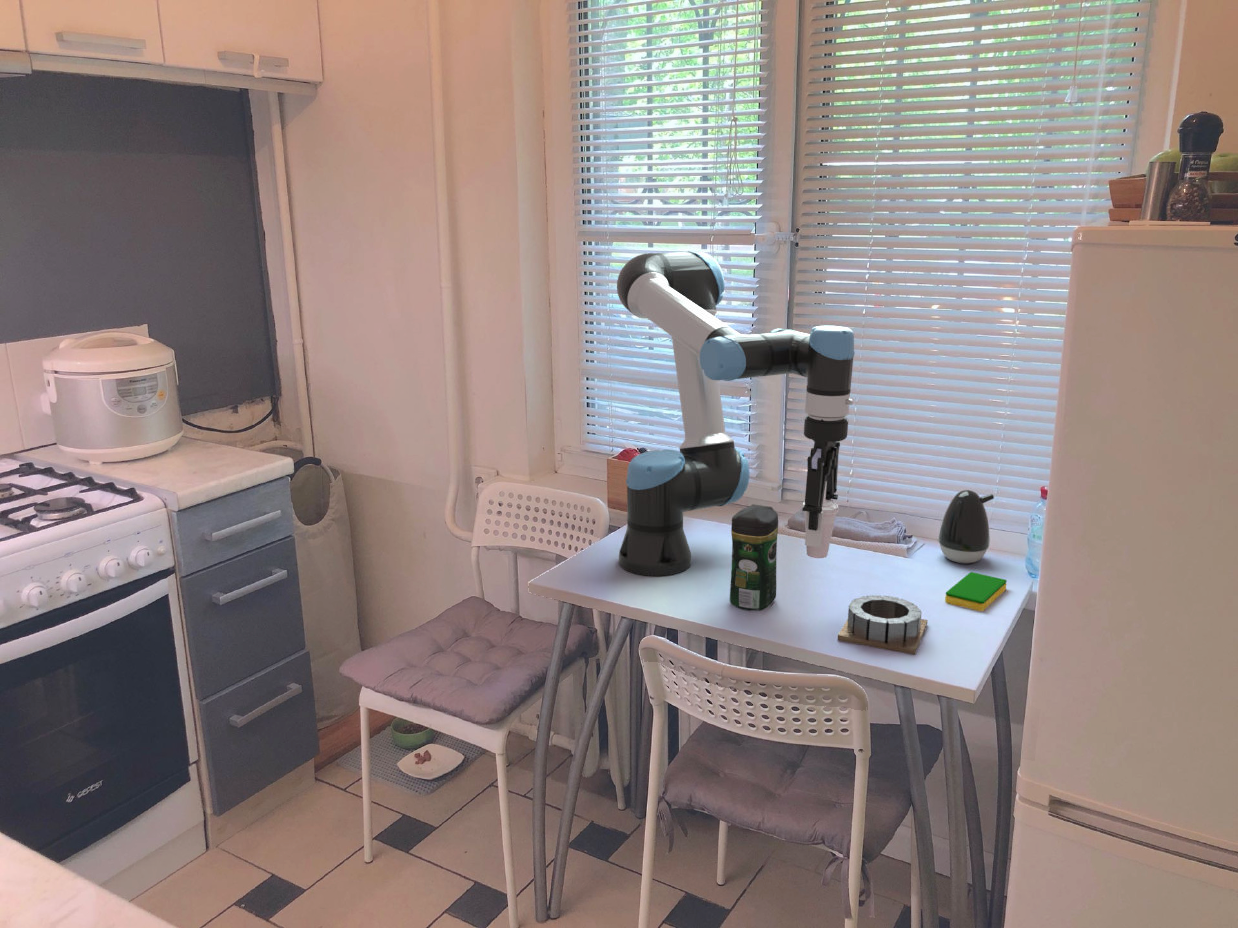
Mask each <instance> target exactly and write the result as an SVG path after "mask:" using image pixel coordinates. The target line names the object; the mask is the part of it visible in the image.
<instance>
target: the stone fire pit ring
mask: <svg viewBox="0 0 1238 928" xmlns="http://www.w3.org/2000/svg"><path fill="white" fill-rule="evenodd" d="M847 610H848V613H847V619H846V621H845V623H844V624H843V626H842V627H841V629H840V630H839V633H838V634H837V641H839V642H845V643H850V644H855V645H861V646H866V647H870V648H875V649H882V650H887V651H893V652H898V653H902V652H903V654H908V655H914V656H915V655H916V653H917V651H918V648H919V646H920V644H921V641H922V639H923V636H924V634H925V632H926V629H927V626H928V621H929V620H928V619H923V618H922V610H921V608H920V607H918V606H917V604H914V603H913V602H911V601H910V600H909V601H908V600H906V599H903V598H899V597H895V596H889V595H883V596H882V595H881V594H878V595H877V594H875V595H866V596H859V597H858V598H857V597H856V598H854V599H853V600H851V602H850V603H849V605H848V609H847Z"/></svg>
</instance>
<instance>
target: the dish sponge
mask: <svg viewBox="0 0 1238 928" xmlns="http://www.w3.org/2000/svg"><path fill="white" fill-rule="evenodd" d="M1007 581H1008V580H1007V579H1004V578H1000V577H996V576H991V575H987V574H983V573H979V572H978V573H977V572H973V571H971V572H969V573H968V574H967V575H965V576H964V577H963V578H961V579H960V580H959V581H958V582H957V583H955V584H954V585H953V586H952V587H950V588H949V589H948V590H947V591H946V592H945V598H944V602H945V603H946V604H950V605H954V606H959V607H962V608H966V609H968V610H974V611H978V612H983V611H985V610H986V609H987V608H988V607H989V606H990V605H991V604H992V603H993V602H994V601H995V600H997V598H998V597H1000V595H1002V594H1003V593H1004V592H1005V591H1006V590H1007Z"/></svg>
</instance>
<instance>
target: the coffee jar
mask: <svg viewBox="0 0 1238 928" xmlns="http://www.w3.org/2000/svg"><path fill="white" fill-rule="evenodd" d="M730 531H731V532H730V533H731V545H732V546H731V570H730V571H731V572H730V573H731V574H730V588H729V603H730V604H731V605H732V606H734V607H736V608H738V609H740V610H742V611H743V610H745V611H749V612H750V611H764V610H766V609H767V608H768V607H770V605H772V604H773V603H774V601H775V599H776V598H777V556H778V555H777V552H778V550H777V549H778V548H777V547H778V533H779V514H778V513H777V511H776V510H775V509H774V508H773V507H772V506H767V505H762V504H751V505H749V506H747V507H745V508H743V509H741V510H739V511H738V512H736V513H735V514H734V515H733V516H732V518H731V530H730Z"/></svg>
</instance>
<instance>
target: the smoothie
mask: <svg viewBox="0 0 1238 928" xmlns="http://www.w3.org/2000/svg"><path fill="white" fill-rule="evenodd" d="M826 485H827V481H826V484H825V491H824V498H823V505H822V511H823V524H822V538H821V547H814V546H808V545H805V546H806V548H805V549H806V555H807V556H808V557H810V558H814V559H824V558H827V557H828V554H829V550H830V544H831V541H832V540H831V539H832V535H833V529H834V525H835V520H836V517H837V516H836V515H837V513H838V512H839V504H838V503H836V502H835V501H834V500H833V501H829V500H825V498H826ZM804 505H805V500H804V501H803V503H802V507H801V509H802V508H803V507H804ZM803 514H804V527H805V528H804V530H805V534H806V522H807V511H803Z"/></svg>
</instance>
